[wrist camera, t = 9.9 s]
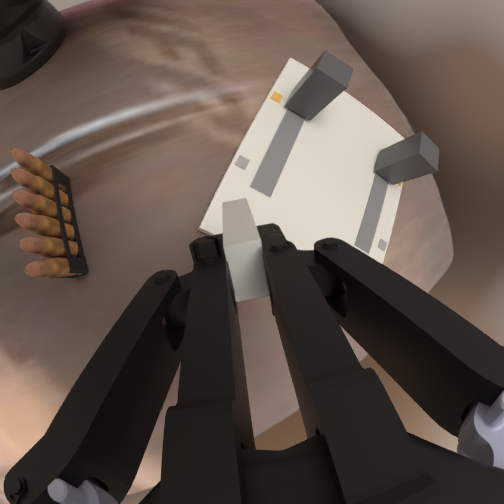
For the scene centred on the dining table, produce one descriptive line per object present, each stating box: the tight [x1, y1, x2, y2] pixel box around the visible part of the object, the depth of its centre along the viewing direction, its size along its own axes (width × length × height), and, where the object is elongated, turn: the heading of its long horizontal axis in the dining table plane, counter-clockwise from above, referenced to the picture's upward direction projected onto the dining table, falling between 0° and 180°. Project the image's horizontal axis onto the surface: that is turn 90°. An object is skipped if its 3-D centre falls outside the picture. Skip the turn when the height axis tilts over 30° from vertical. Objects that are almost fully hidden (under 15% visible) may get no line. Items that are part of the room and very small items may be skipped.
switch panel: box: [198, 58, 404, 264], centre depth 32 cm, size 26×22×2 cm
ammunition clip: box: [11, 147, 89, 278], centre depth 19 cm, size 11×2×12 cm, turn 17°
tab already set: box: [375, 131, 439, 185], centre depth 29 cm, size 4×4×8 cm
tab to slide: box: [285, 51, 353, 121], centre depth 26 cm, size 4×4×8 cm
